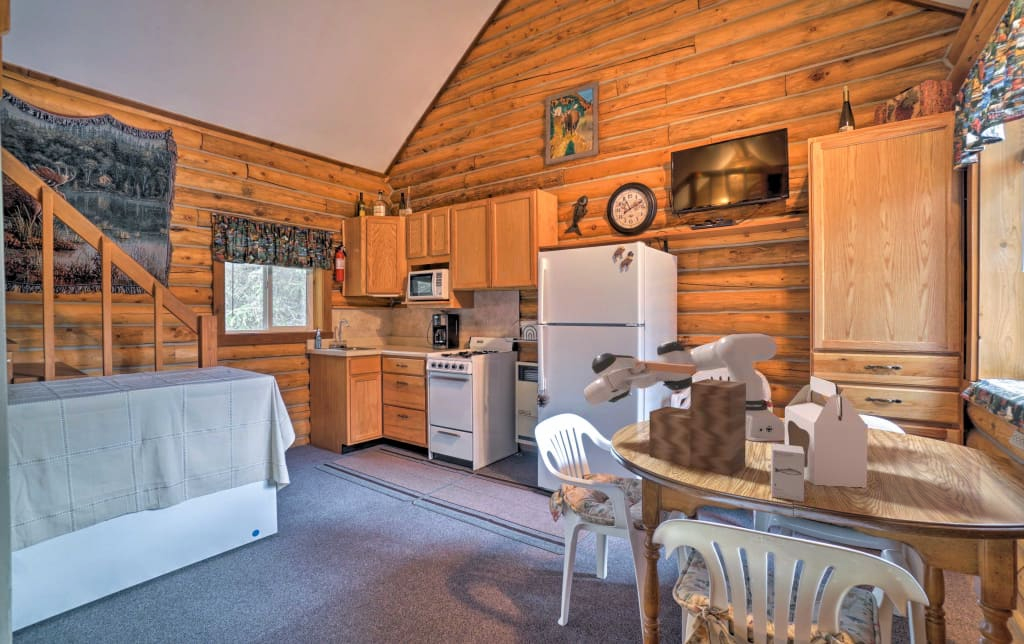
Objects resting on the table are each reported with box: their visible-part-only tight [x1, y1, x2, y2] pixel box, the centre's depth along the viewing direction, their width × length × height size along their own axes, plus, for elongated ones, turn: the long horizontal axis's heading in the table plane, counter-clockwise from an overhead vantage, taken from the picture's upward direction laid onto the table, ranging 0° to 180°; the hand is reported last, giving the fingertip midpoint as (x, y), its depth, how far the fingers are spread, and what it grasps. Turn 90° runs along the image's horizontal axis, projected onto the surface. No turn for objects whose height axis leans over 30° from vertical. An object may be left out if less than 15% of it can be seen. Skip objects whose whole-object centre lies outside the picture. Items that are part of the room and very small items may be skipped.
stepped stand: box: [648, 378, 747, 477], centre depth 152 cm, size 26×12×26 cm, turn 44°
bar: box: [636, 360, 697, 375], centre depth 159 cm, size 20×4×2 cm, turn 44°
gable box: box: [784, 375, 869, 489], centre depth 140 cm, size 22×13×28 cm, turn 169°
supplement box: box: [770, 442, 805, 503], centre depth 124 cm, size 7×7×13 cm
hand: (649, 364), depth 163 cm, fingers closed on bar, 3 cm apart
